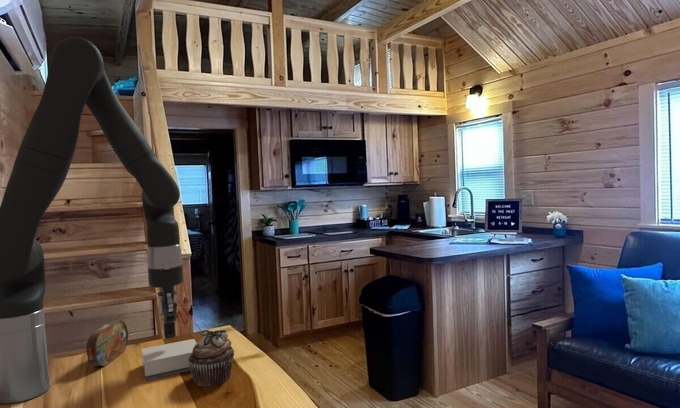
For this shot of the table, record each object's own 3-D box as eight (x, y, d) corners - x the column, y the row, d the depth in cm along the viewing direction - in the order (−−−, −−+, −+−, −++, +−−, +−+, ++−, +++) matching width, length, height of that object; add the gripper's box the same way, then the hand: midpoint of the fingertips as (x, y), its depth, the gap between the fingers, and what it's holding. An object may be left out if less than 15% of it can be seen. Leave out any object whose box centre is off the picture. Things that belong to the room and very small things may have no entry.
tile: (142, 363, 107) (145, 377, 99) (141, 348, 107) (144, 362, 99) (195, 352, 112) (201, 365, 104) (194, 338, 112) (201, 350, 104)
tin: (98, 372, 104) (96, 336, 103) (85, 372, 104) (82, 336, 103) (130, 347, 119) (128, 316, 118) (118, 347, 119) (116, 316, 118)
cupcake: (193, 370, 103) (191, 327, 102) (237, 367, 104) (235, 324, 103) (184, 390, 93) (181, 342, 93) (232, 385, 94) (230, 338, 94)
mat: (145, 380, 98) (145, 378, 98) (142, 366, 106) (142, 365, 106) (202, 368, 104) (202, 366, 104) (195, 355, 111) (195, 354, 111)
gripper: (145, 262, 109) (149, 332, 110) (150, 271, 98) (155, 349, 99) (177, 258, 113) (181, 326, 114) (186, 266, 101) (191, 342, 102)
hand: (169, 337), depth 106 cm, fingers closed
